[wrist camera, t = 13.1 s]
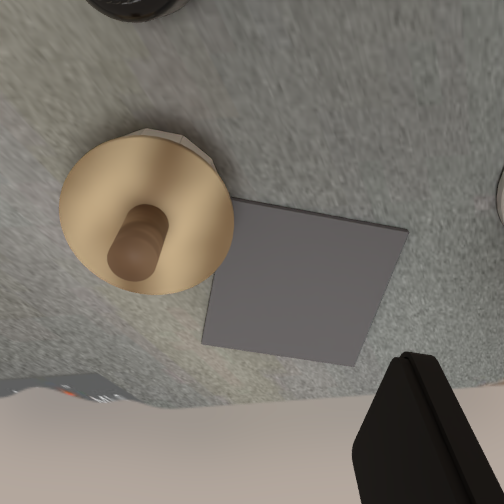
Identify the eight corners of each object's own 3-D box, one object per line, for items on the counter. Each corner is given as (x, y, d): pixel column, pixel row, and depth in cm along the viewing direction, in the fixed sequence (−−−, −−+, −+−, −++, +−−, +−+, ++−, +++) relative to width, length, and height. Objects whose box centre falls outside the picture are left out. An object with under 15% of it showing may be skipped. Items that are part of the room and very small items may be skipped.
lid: (248, 153, 34) (248, 186, 28) (219, 300, 40) (215, 350, 35) (62, 118, 32) (24, 146, 27) (63, 276, 39) (32, 324, 33)
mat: (407, 229, 42) (409, 232, 41) (352, 363, 50) (353, 366, 49) (229, 197, 40) (229, 199, 40) (201, 340, 48) (201, 344, 48)
